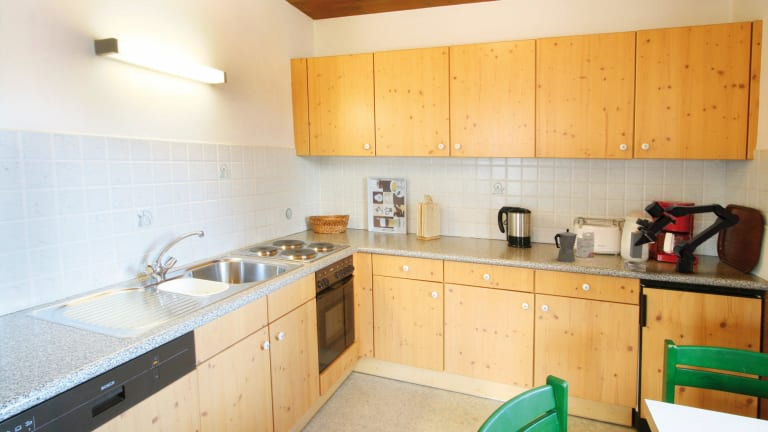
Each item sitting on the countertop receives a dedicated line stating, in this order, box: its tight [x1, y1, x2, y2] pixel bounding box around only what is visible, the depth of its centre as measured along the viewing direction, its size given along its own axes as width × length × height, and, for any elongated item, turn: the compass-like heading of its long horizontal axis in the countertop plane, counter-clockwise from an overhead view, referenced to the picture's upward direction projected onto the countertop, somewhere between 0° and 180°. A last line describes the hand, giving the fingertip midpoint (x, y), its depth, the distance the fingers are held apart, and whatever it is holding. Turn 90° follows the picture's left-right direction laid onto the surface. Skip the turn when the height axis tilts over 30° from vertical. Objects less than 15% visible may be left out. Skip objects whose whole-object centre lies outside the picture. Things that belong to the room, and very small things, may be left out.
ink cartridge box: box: [575, 231, 595, 259], centre depth 261 cm, size 9×5×15 cm, turn 105°
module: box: [629, 229, 644, 260], centre depth 231 cm, size 4×5×14 cm
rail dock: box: [623, 260, 647, 273], centre depth 233 cm, size 8×9×3 cm
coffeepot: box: [553, 228, 578, 263], centre depth 251 cm, size 15×9×18 cm, turn 110°
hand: (633, 244), depth 232 cm, fingers closed on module, 5 cm apart
